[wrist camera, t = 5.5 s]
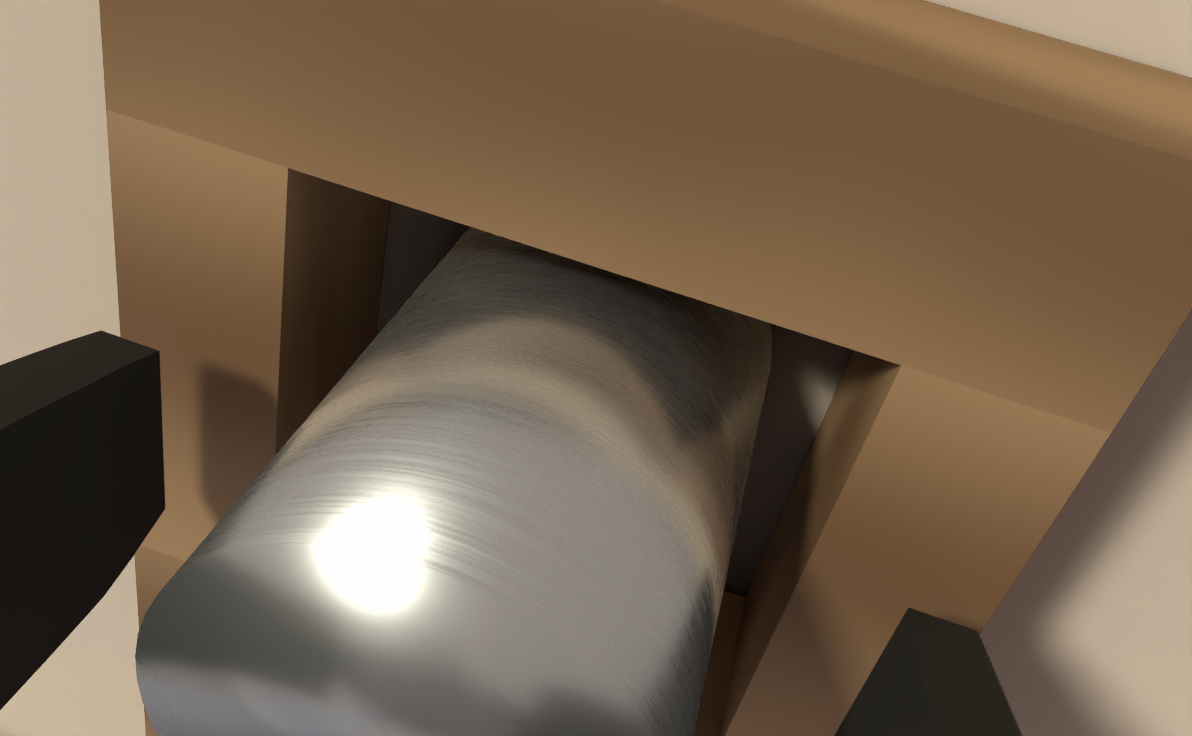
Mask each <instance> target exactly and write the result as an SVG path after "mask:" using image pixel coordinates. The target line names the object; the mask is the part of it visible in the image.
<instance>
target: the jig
mask: <svg viewBox="0 0 1192 736" xmlns="http://www.w3.org/2000/svg"><path fill="white" fill-rule="evenodd" d="M99 3H100V19H101V35H102V51H103V66H104V82H105V98H106V113H107V129H108V145H109V161H110V176H111V192H112V208H113V224H114V239H115V255H116V271H117V287H118V302H119V318H120V334H121V338H124V339H127V340H130V341H133V342H136V343H138V344H141V345H144V346H147V347H150V348H153V349H156V350H159V351H160V376H161V402H162V429H163V456H164V482H165V510H164V511H163V513H162V514H161V516H160V517H159V519H158V520H157V522H156V523H155V525H154V526H153V528H152V529H151V531H150V532H149V533H148V535H147V536H146V538H145V539H144V541H143V542H142V544H141V545H140V547H139V548H138V550H137V551H136V553H135V570H136V585H137V601H138V617H139V630H140V627H141V624H142V621H143V619H144V616H145V613H146V612H147V610H148V608H149V607H150V605H151V604H152V602H153V601H154V599H155V597H156V596H157V594H158V593H159V592H160V591H161V590H162V588H163V587H164V586H165V585H166V584H167V583H168V581H169V580H170V579H171V578H172V577H173V576H174V574H175V573H176V572H177V571H178V570H179V568H180V567H181V566H182V565H183V564H184V563H185V561H186V560H187V559H188V558H189V557H190V556H191V554H192V553H193V552H194V551H195V550H196V548H197V547H198V546H199V545H200V544H201V543H202V541H203V540H204V539H205V538H206V537H207V535H208V534H209V533H210V532H211V531H212V530H213V528H214V527H215V526H216V525H217V524H218V523H219V521H220V520H221V519H222V518H223V517H224V515H225V514H226V513H227V512H228V511H229V510H230V508H231V507H232V506H233V505H234V504H235V503H236V501H237V500H238V499H239V498H240V497H241V495H242V494H243V493H244V492H245V491H246V490H247V488H248V487H249V486H250V485H251V484H252V482H253V481H254V480H255V479H256V478H257V477H258V475H259V474H260V473H261V472H262V471H263V470H264V468H265V467H266V466H267V465H268V464H269V462H270V461H271V460H272V459H273V458H274V457H275V455H276V454H277V453H278V452H279V451H280V450H281V448H282V447H283V446H284V445H285V444H286V442H287V441H288V440H289V439H290V438H291V437H292V435H293V434H294V433H295V432H296V431H297V430H298V428H299V427H300V426H301V425H302V424H303V422H304V421H305V420H306V419H307V418H308V417H309V415H310V414H311V413H312V412H313V411H314V409H315V408H316V407H317V406H318V405H319V404H320V402H321V401H322V400H323V399H324V398H325V397H326V395H327V394H328V393H329V392H330V391H331V389H332V388H333V387H334V386H335V385H336V384H337V382H338V381H339V380H340V379H341V378H342V377H343V375H344V374H345V373H346V372H347V371H348V369H349V368H350V367H351V366H352V365H353V364H354V362H355V361H356V360H357V359H358V358H359V356H360V355H361V354H362V353H363V352H364V351H365V349H366V348H367V347H368V346H369V345H370V344H371V342H372V341H373V340H374V339H375V333H376V323H377V314H378V305H379V296H380V287H381V278H382V269H383V259H384V250H385V241H386V232H387V223H388V214H389V205H390V201H392V202H395V203H398V204H402V205H405V206H408V207H411V208H414V209H417V210H420V211H423V212H426V213H430V214H433V215H436V216H439V217H442V218H445V219H448V220H451V221H454V222H458V223H461V224H464V225H467V226H470V227H473V228H476V229H479V230H482V231H485V232H489V233H492V234H495V235H498V236H501V237H504V238H507V239H510V240H513V241H517V242H520V243H523V244H526V245H529V246H532V247H535V248H538V249H541V250H544V251H548V252H551V253H554V254H557V255H560V256H563V257H566V258H569V259H572V260H576V261H579V262H582V263H585V264H588V265H591V266H594V267H597V268H600V269H603V270H607V271H610V272H613V273H616V274H619V275H622V276H625V277H628V278H631V279H635V280H638V281H641V282H644V283H647V284H650V285H653V286H656V287H659V288H662V289H666V290H669V291H672V292H675V293H678V294H681V295H684V296H687V297H690V298H694V299H697V300H700V301H703V302H706V303H709V304H712V305H715V306H718V307H722V308H725V309H728V310H731V311H734V312H737V313H740V314H743V315H746V316H749V317H753V318H756V319H759V320H762V321H765V322H768V323H771V324H774V325H777V326H781V327H784V328H787V329H790V330H793V331H796V332H799V333H802V334H805V335H808V336H812V337H815V338H818V339H821V340H824V341H827V342H830V343H833V344H836V345H840V346H843V347H846V348H849V349H852V350H854V351H853V353H852V355H851V357H850V360H849V362H848V364H847V367H846V369H845V371H844V373H843V376H842V378H841V380H840V383H839V385H838V387H837V389H836V392H835V394H834V396H833V398H832V401H831V403H830V405H829V408H828V410H827V412H826V414H825V417H824V419H823V421H822V424H821V426H820V428H819V430H818V433H817V435H816V437H815V440H814V442H813V444H812V446H811V449H810V451H809V453H808V455H807V458H806V460H805V462H804V465H803V467H802V469H801V471H800V474H799V476H798V478H797V481H796V483H795V485H794V487H793V490H792V492H791V494H790V496H789V499H788V501H787V503H786V506H785V508H784V510H783V512H782V515H781V517H780V519H779V522H778V524H777V526H776V528H775V531H774V533H773V535H772V537H771V540H770V542H769V544H768V547H767V549H766V551H765V553H764V556H763V558H762V560H761V563H760V565H759V567H758V569H757V572H756V574H755V576H754V578H753V581H752V583H751V585H750V588H749V590H748V592H747V594H746V597H742V596H739V595H736V594H734V593H731V592H728V591H725V590H724V591H723V596H722V601H721V606H720V610H719V615H718V620H717V625H716V629H715V634H714V639H713V644H712V649H711V653H710V658H709V663H708V668H707V672H706V677H705V682H704V687H703V691H702V696H701V701H700V706H699V710H698V715H697V720H696V725H695V730H694V734H693V736H834V735H835V733H836V732H837V730H838V728H839V726H840V725H841V723H842V721H843V720H844V718H845V716H846V714H847V713H848V711H849V709H850V707H851V706H852V704H853V702H854V701H855V699H856V697H857V695H858V694H859V692H860V690H861V688H862V687H863V685H864V683H865V682H866V680H867V678H868V676H869V675H870V673H871V671H872V669H873V668H874V666H875V664H876V663H877V661H878V659H879V657H880V656H881V654H882V652H883V650H884V649H885V647H886V645H887V644H888V642H889V640H890V638H891V637H892V635H893V633H894V631H895V630H896V628H897V626H898V625H899V623H900V621H901V619H902V618H903V616H904V614H905V612H906V611H907V609H908V607H909V608H912V609H915V610H918V611H921V612H924V613H927V614H930V615H932V616H935V617H938V618H941V619H944V620H947V621H950V622H953V623H956V624H959V625H962V626H965V627H967V628H970V629H973V630H976V631H977V632H978V634H979V635H980V633H981V632H982V630H983V628H984V627H985V625H986V624H987V622H988V621H989V619H990V618H991V616H992V615H993V613H994V612H995V610H996V609H997V607H998V605H999V604H1000V602H1001V601H1002V599H1003V598H1004V596H1005V595H1006V593H1007V592H1008V590H1009V589H1010V587H1011V586H1012V584H1013V582H1014V581H1015V579H1016V578H1017V576H1018V575H1019V573H1020V572H1021V570H1022V569H1023V567H1024V566H1025V564H1026V563H1027V561H1028V560H1029V558H1030V556H1031V555H1032V553H1033V552H1034V550H1035V549H1036V547H1037V546H1038V544H1039V543H1040V541H1041V540H1042V538H1043V537H1044V535H1045V533H1046V532H1047V530H1048V529H1049V527H1050V526H1051V524H1052V523H1053V521H1054V520H1055V518H1056V517H1057V515H1058V514H1059V512H1060V510H1061V509H1062V507H1063V506H1064V504H1065V503H1066V501H1067V500H1068V498H1069V497H1070V495H1071V494H1072V492H1073V491H1074V489H1075V488H1076V486H1077V484H1078V483H1079V481H1080V480H1081V478H1082V477H1083V475H1084V474H1085V472H1086V471H1087V469H1088V468H1089V466H1090V465H1091V463H1092V461H1093V460H1094V458H1095V457H1096V455H1097V454H1098V452H1099V451H1100V449H1101V448H1102V446H1103V445H1104V443H1105V442H1106V440H1107V438H1108V437H1109V435H1110V434H1111V432H1112V431H1113V429H1114V428H1115V426H1116V425H1117V423H1118V422H1119V420H1120V419H1121V417H1122V416H1123V414H1124V412H1125V411H1126V409H1127V408H1128V406H1129V405H1130V403H1131V402H1132V400H1133V399H1134V397H1135V396H1136V394H1137V393H1138V391H1139V389H1140V388H1141V386H1142V385H1143V383H1144V382H1145V380H1146V379H1147V377H1148V376H1149V374H1150V373H1151V371H1152V370H1153V368H1154V366H1155V365H1156V363H1157V362H1158V360H1159V359H1160V357H1161V356H1162V354H1163V353H1164V351H1165V350H1166V348H1167V347H1168V345H1169V344H1170V342H1171V340H1172V339H1173V337H1174V336H1175V334H1176V333H1177V331H1178V330H1179V328H1180V327H1181V325H1182V324H1183V322H1184V321H1185V319H1186V317H1187V316H1188V314H1189V313H1190V311H1191V310H1192V78H1190V77H1186V76H1183V75H1179V74H1176V73H1172V72H1169V71H1166V70H1162V69H1159V68H1155V67H1152V66H1148V65H1145V64H1141V63H1138V62H1135V61H1131V60H1128V59H1124V58H1121V57H1117V56H1114V55H1110V54H1107V53H1103V52H1100V51H1097V50H1093V49H1090V48H1086V47H1083V46H1079V45H1076V44H1072V43H1069V42H1066V41H1062V40H1059V39H1055V38H1052V37H1048V36H1045V35H1041V34H1038V33H1035V32H1031V31H1028V30H1024V29H1021V28H1017V27H1014V26H1010V25H1007V24H1003V23H1000V22H997V21H993V20H990V19H986V18H983V17H979V16H976V15H972V14H969V13H966V12H962V11H959V10H955V9H952V8H948V7H945V6H941V5H938V4H935V3H931V2H928V1H924V0H99ZM144 711H145V727H146V736H158V735H157V733H156V731H155V730H154V728H153V726H152V724H151V721H150V719H149V716H148V714H147V711H146V709H145V706H144Z"/></svg>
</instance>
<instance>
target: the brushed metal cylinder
mask: <svg viewBox="0 0 1192 736" xmlns="http://www.w3.org/2000/svg"><path fill="white" fill-rule="evenodd" d="M771 359H772V336H771V326H770V323H768V322H765V321H762V320H759V319H756V318H753V317H749V316H746V315H743V314H740V313H737V312H734V311H731V310H728V309H725V308H722V307H718V306H715V305H712V304H709V303H706V302H703V301H700V300H697V299H694V298H690V297H687V296H684V295H681V294H678V293H675V292H672V291H669V290H666V289H662V288H659V287H656V286H653V285H650V284H647V283H644V282H641V281H638V280H635V279H631V278H628V277H625V276H622V275H619V274H616V273H613V272H610V271H607V270H603V269H600V268H597V267H594V266H591V265H588V264H585V263H582V262H579V261H576V260H572V259H569V258H566V257H563V256H560V255H557V254H554V253H551V252H548V251H544V250H541V249H538V248H535V247H532V246H529V245H526V244H523V243H520V242H517V241H513V240H510V239H507V238H504V237H501V236H498V235H495V234H492V233H489V232H485V231H482V230H479V229H476V228H473V227H469V228H468V229H467V230H466V232H465V233H464V234H463V235H462V236H461V238H460V239H459V240H458V241H457V242H456V243H455V245H454V246H453V247H452V248H451V249H450V251H449V252H448V253H447V254H446V255H445V256H444V258H443V259H442V260H441V261H440V262H439V263H438V265H437V266H436V267H435V268H434V269H433V271H432V272H431V273H430V274H429V275H428V276H427V278H426V279H425V280H424V281H423V282H422V283H421V285H420V286H419V287H418V288H417V289H416V291H415V292H414V293H413V294H412V295H411V296H410V298H409V299H408V300H407V301H406V302H405V304H404V305H403V306H402V307H401V308H400V309H399V311H398V312H397V313H396V314H395V315H394V316H393V318H392V319H391V320H390V321H389V322H388V324H387V325H386V326H385V327H384V328H383V329H382V331H381V332H380V333H379V334H378V335H377V336H376V338H375V339H374V340H373V341H372V342H371V344H370V345H369V346H368V347H367V348H366V349H365V351H364V352H363V353H362V354H361V355H360V356H359V358H358V359H357V360H356V361H355V362H354V364H353V365H352V366H351V367H350V368H349V369H348V371H347V372H346V373H345V374H344V375H343V377H342V378H341V379H340V380H339V381H338V382H337V384H336V385H335V386H334V387H333V388H332V389H331V391H330V392H329V393H328V394H327V395H326V397H325V398H324V399H323V400H322V401H321V402H320V404H319V405H318V406H317V407H316V408H315V409H314V411H313V412H312V413H311V414H310V415H309V417H308V418H307V419H306V420H305V421H304V422H303V424H302V425H301V426H300V427H299V428H298V430H297V431H296V432H295V433H294V434H293V435H292V437H291V438H290V439H289V440H288V441H287V442H286V444H285V445H284V446H283V447H282V448H281V450H280V451H279V452H278V453H277V454H276V455H275V457H274V458H273V459H272V460H271V461H270V462H269V464H268V465H267V466H266V467H265V468H264V470H263V471H262V472H261V473H260V474H259V475H258V477H257V478H256V479H255V480H254V481H253V482H252V484H251V485H250V486H249V487H248V488H247V490H246V491H245V492H244V493H243V494H242V495H241V497H240V498H239V499H238V500H237V501H236V503H235V504H234V505H233V506H232V507H231V508H230V510H229V511H228V512H227V513H226V514H225V515H224V517H223V518H222V519H221V520H220V521H219V523H218V524H217V525H216V526H215V527H214V528H213V530H212V531H211V532H210V533H209V534H208V535H207V537H206V538H205V539H204V540H203V541H202V543H201V544H200V545H199V546H198V547H197V548H196V550H195V551H194V552H193V553H192V554H191V556H190V557H189V558H188V559H187V560H186V561H185V563H184V564H183V565H182V566H181V567H180V568H179V570H178V571H177V572H176V573H175V574H174V576H173V577H172V578H171V579H170V580H169V581H168V583H167V584H166V585H165V586H164V587H163V588H162V590H161V591H160V592H159V593H158V594H157V596H156V597H155V599H154V601H153V602H152V604H151V605H150V607H149V608H148V610H147V612H146V613H145V616H144V619H143V621H142V624H141V627H140V630H139V633H138V638H137V647H136V655H135V658H136V671H137V681H138V685H139V689H140V693H141V697H142V701H143V704H144V706H145V709H146V711H147V714H148V716H149V719H150V721H151V724H152V726H153V728H154V730H155V731H156V733H157V735H158V736H693V734H694V730H695V725H696V720H697V715H698V710H699V706H700V701H701V696H702V691H703V687H704V682H705V677H706V672H707V668H708V663H709V658H710V653H711V649H712V644H713V639H714V634H715V629H716V625H717V620H718V615H719V610H720V606H721V601H722V596H723V591H724V587H725V582H726V577H727V572H728V567H729V563H730V558H731V553H732V548H733V544H734V539H735V534H736V529H737V525H738V520H739V515H740V510H741V506H742V501H743V496H744V491H745V486H746V482H747V477H748V472H749V467H750V463H751V458H752V453H753V448H754V444H755V439H756V434H757V429H758V424H759V420H760V415H761V410H762V405H763V401H764V396H765V391H766V386H767V382H768V377H769V372H770V367H771Z"/></svg>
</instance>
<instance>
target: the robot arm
mask: <svg viewBox="0 0 1192 736" xmlns="http://www.w3.org/2000/svg"><path fill="white" fill-rule="evenodd" d="M164 510H165V482H164V456H163V429H162V402H161V376H160V351H159V350H156V349H153V348H150V347H147V346H144V345H141V344H138V343H136V342H133V341H130V340H127V339H124V338H121V337H118V336H115V335H112V334H109V333H106V332H103V331H98V332H95V333H92V334H89V335H86V336H82V337H79V338H76V339H73V340H70V341H67V342H64V343H61V344H58V345H55V346H53V347H50V348H47V349H44V350H41V351H38V352H36V353H33V354H30V355H27V356H25V357H22V358H19V359H16V360H14V361H11V362H8V363H5V364H3V365H0V710H1V709H2V708H3V707H4V705H5V704H6V703H7V702H8V701H9V700H10V699H11V698H12V697H13V696H14V695H15V694H16V692H17V691H18V690H19V689H20V688H21V687H22V686H23V685H24V684H25V683H26V682H27V681H28V679H29V678H30V677H31V676H32V675H33V674H34V673H35V672H36V671H37V670H38V669H39V667H40V666H41V665H42V664H43V663H44V662H45V661H46V660H47V659H48V658H49V657H50V655H51V654H52V653H53V652H54V651H55V650H56V649H57V648H58V647H59V646H60V644H61V643H62V642H63V641H64V640H65V639H66V638H67V637H68V636H69V634H70V633H71V632H72V631H73V630H74V629H75V628H76V627H77V626H78V625H79V623H80V622H81V621H82V620H83V619H84V618H85V617H86V616H87V615H88V613H89V612H90V611H91V610H92V609H93V608H94V607H95V605H96V604H97V603H98V602H99V601H100V600H101V599H102V598H103V596H104V595H105V594H106V593H107V591H108V590H109V588H110V587H111V586H112V584H113V583H114V582H115V580H116V579H117V577H118V576H119V575H120V573H121V572H122V571H123V569H124V568H125V567H126V565H127V564H128V562H129V561H130V560H131V558H132V557H133V556H134V554H135V553H136V551H137V550H138V548H139V547H140V545H141V544H142V542H143V541H144V539H145V538H146V536H147V535H148V533H149V532H150V531H151V529H152V528H153V526H154V525H155V523H156V522H157V520H158V519H159V517H160V516H161V514H162V513H163V511H164ZM834 736H1022V734H1021V732H1020V729H1019V727H1018V725H1017V722H1016V720H1015V718H1014V715H1013V713H1012V711H1011V708H1010V706H1009V703H1008V701H1007V699H1006V696H1005V694H1004V692H1003V689H1002V687H1001V685H1000V682H999V680H998V677H997V675H996V673H995V670H994V668H993V666H992V663H991V661H990V659H989V656H988V654H987V652H986V649H985V647H984V645H983V643H982V641H981V638H980V636H979V634H978V632H977V631H976V630H973V629H970V628H967V627H965V626H962V625H959V624H956V623H953V622H950V621H947V620H944V619H941V618H938V617H935V616H932V615H930V614H927V613H924V612H921V611H918V610H915V609H912V608H909V607H908V609H907V611H906V612H905V614H904V616H903V618H902V619H901V621H900V623H899V625H898V626H897V628H896V630H895V631H894V633H893V635H892V637H891V638H890V640H889V642H888V644H887V645H886V647H885V649H884V650H883V652H882V654H881V656H880V657H879V659H878V661H877V663H876V664H875V666H874V668H873V669H872V671H871V673H870V675H869V676H868V678H867V680H866V682H865V683H864V685H863V687H862V688H861V690H860V692H859V694H858V695H857V697H856V699H855V701H854V702H853V704H852V706H851V707H850V709H849V711H848V713H847V714H846V716H845V718H844V720H843V721H842V723H841V725H840V726H839V728H838V730H837V732H836V733H835V735H834Z"/></svg>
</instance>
